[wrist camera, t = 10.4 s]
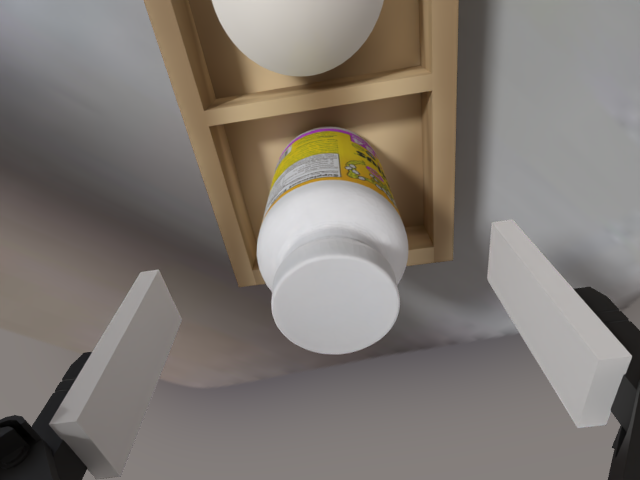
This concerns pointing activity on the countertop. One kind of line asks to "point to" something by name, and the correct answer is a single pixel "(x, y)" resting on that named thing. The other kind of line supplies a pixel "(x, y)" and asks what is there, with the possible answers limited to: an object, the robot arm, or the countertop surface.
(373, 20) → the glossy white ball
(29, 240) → the countertop surface
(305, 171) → the supplement bottle
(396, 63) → the rack
